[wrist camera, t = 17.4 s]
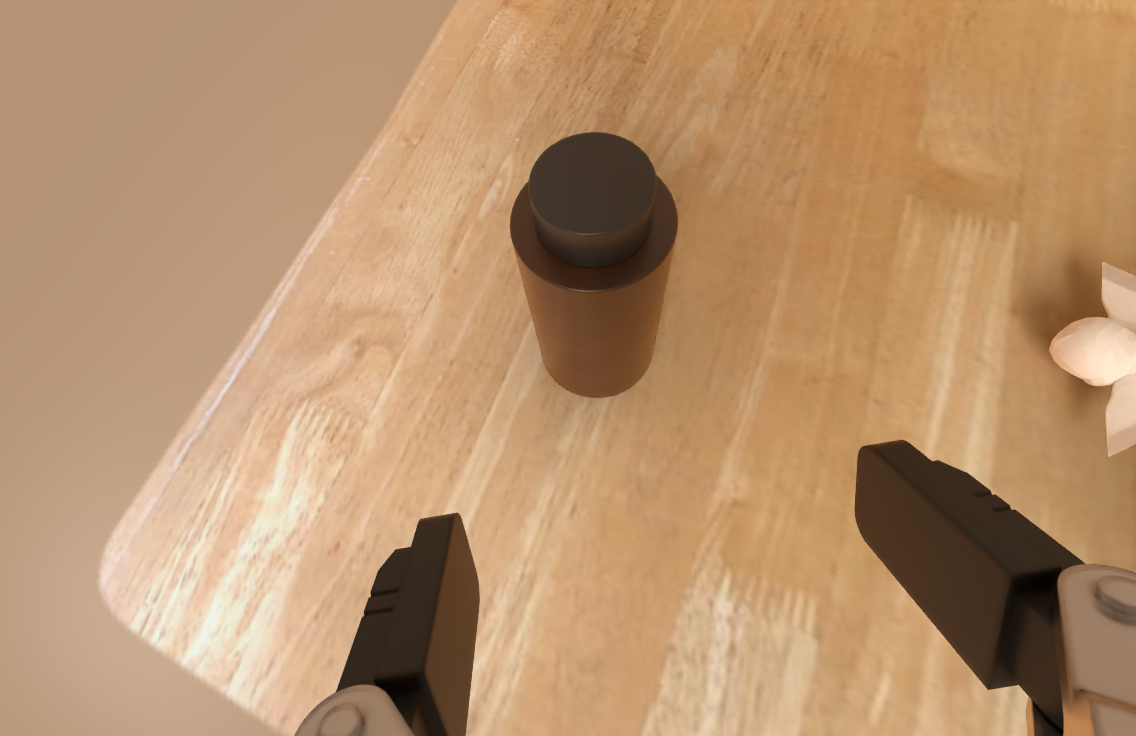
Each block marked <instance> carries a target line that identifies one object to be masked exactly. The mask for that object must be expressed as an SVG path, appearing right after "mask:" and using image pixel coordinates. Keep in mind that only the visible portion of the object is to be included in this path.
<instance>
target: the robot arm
mask: <svg viewBox="0 0 1136 736" xmlns="http://www.w3.org/2000/svg"><path fill="white" fill-rule="evenodd" d="M855 518H856V522H857V526H858V528H859V531H860V533H861V535H862V537H863V539H864V540H865V542H866V543H867V544H868V545H869V547H870V548H871V549H872V550H873V552H874V553H875V554H876V555H877V556H878V558H879V559H880V560H881V561H882V562H883V564H884V565H885V566H886V567H887V568H888V570H889V571H890V572H891V573H892V574H893V576H894V577H895V578H896V579H897V580H898V582H899V583H900V584H901V585H902V587H903V588H904V589H905V590H906V591H907V593H908V594H909V595H910V596H911V597H912V599H913V600H914V601H915V602H916V603H917V605H918V606H919V607H920V608H921V609H922V611H923V612H924V613H925V614H926V615H927V617H928V618H929V619H930V620H931V622H932V623H933V624H934V625H935V626H936V628H937V629H938V630H939V631H940V632H941V634H942V635H943V636H944V637H945V638H946V640H947V641H948V642H949V643H950V644H951V646H952V647H953V648H954V649H955V650H956V652H957V653H958V654H959V655H960V657H961V658H962V659H963V660H964V661H965V663H966V664H967V665H968V666H969V667H970V669H971V670H972V671H973V672H974V673H975V675H976V676H977V677H978V678H979V679H980V681H981V682H982V683H983V684H984V685H985V687H986V688H987V689H988V690H990V689H996V688H1002V687H1008V686H1014V685H1019V686H1020V687H1021V688H1022V689H1023V690H1024V691H1025V693H1026V694H1027V695H1028V696H1029V699H1028V703H1027V707H1026V720H1027V735H1028V736H1136V573H1134V572H1131V571H1128V570H1125V569H1121V568H1117V567H1112V566H1107V565H1098V564H1085V563H1084V562H1083V561H1081V560H1080V559H1079V558H1077V557H1076V556H1075V555H1074V554H1072V553H1071V552H1070V551H1068V550H1067V549H1066V548H1064V547H1063V546H1062V545H1061V544H1059V543H1058V542H1057V541H1055V540H1054V539H1053V538H1051V537H1050V536H1049V535H1048V534H1046V533H1045V532H1044V531H1042V530H1041V529H1040V528H1038V527H1037V526H1036V525H1035V524H1033V523H1032V522H1031V521H1029V520H1028V519H1027V518H1025V517H1024V516H1023V515H1021V514H1020V513H1019V512H1018V511H1016V510H1011V508H1010V505H1008V504H1007V503H1006V502H1005V501H1003V500H1002V499H1001V498H999V497H998V496H997V495H992V494H991V491H990V490H989V489H988V488H986V487H985V486H984V485H982V484H981V483H980V482H979V481H977V480H976V479H975V478H973V477H972V476H971V475H969V474H968V473H966V472H964V471H961V470H959V469H957V468H954V467H952V466H950V465H948V464H945V463H943V462H941V461H939V460H937V461H931V460H930V459H928V458H927V457H926V456H925V455H924V454H922V453H921V452H920V451H919V450H917V449H916V448H915V447H914V446H912V445H911V444H910V443H908V442H907V441H905V440H897V441H891V442H885V443H879V444H873V445H867V446H863V447H861V449H860V450H859V453H858V459H857V477H856V494H855ZM479 601H480V596H479V583H478V577H477V572H476V568H475V565H474V561H473V557H472V554H471V550H470V547H469V543H468V539H467V536H466V532H465V529H464V525H463V522H462V519H461V516H460V515H459V513H453V514H447V515H441V516H435V517H429V518H423V519H420V520H419V522H418V525H417V528H416V532H415V535H414V539H413V542H412V546H411V547H408V548H402V549H396V550H395V551H394V552H393V553H392V554H391V556H390V557H389V558H388V559H387V561H386V562H385V563H384V564H383V565H382V567H381V568H380V569H379V570H378V573H377V576H376V579H375V581H374V584H373V587H372V590H371V597H369V599H368V602H367V604H366V607H365V610H364V617H362V619H361V622H360V625H359V627H358V630H357V633H356V636H355V639H354V642H353V645H352V648H351V650H350V653H349V656H348V659H347V662H346V665H345V668H344V671H343V673H342V676H341V679H340V682H339V685H338V688H337V690H336V693H334V694H332V695H331V696H329V697H328V698H326V699H325V700H323V701H322V702H321V703H320V704H318V705H317V706H316V707H315V708H314V709H313V710H312V711H311V712H310V713H309V714H308V716H307V717H306V718H305V719H304V720H303V722H302V723H301V725H300V726H299V728H298V730H297V732H296V734H295V735H294V736H465V735H466V726H467V717H468V707H469V698H470V688H471V679H472V670H473V660H474V651H475V641H476V632H477V623H478V613H479Z"/></svg>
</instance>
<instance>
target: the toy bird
mask: <svg viewBox="0 0 1136 736" xmlns="http://www.w3.org/2000/svg"><path fill="white" fill-rule="evenodd" d="M1101 300H1102V304H1103V306H1104V308H1105V310H1106V311H1107V314H1108V318H1104V317H1089V318H1084V319H1081V320H1078V321H1075V322H1072V323H1071V324H1070V325H1068V326H1067V327H1065V328H1064V329H1063V330H1061V331H1060V332H1059V333H1058V334H1057V335H1056V336H1055V337H1054V338H1053V340H1052V342H1051V344H1050V347H1049V352H1050V354H1051V356H1052V358H1053V360H1054V361H1055V362H1056V363H1057V364H1058V365H1059V366H1060V367H1061V368H1062V369H1064V370H1065V371H1067V372H1069V373H1071V374H1073V375H1075V376H1077V377H1079V378H1081V379H1082V380H1084V381H1085V382H1086V383H1088V384H1089V385H1093V386H1107V385H1111V384H1112V383H1113V385H1112V391H1111V397H1110V400H1109V402H1108V404H1107V406H1106V408H1105V423H1106V432H1107V444H1108V457H1110V456H1112V455H1114V454H1116V453H1118V452H1120V451H1123V450H1125V449H1127V448H1129V447H1131V446H1133V445H1135V444H1136V276H1134V275H1132V274H1130V273H1127V272H1125V271H1123V270H1120V269H1118V268H1116V267H1113V266H1111V265H1109V264H1106V263H1104V262H1102V293H1101Z"/></svg>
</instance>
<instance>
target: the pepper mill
mask: <svg viewBox="0 0 1136 736" xmlns="http://www.w3.org/2000/svg"><path fill="white" fill-rule="evenodd" d="M677 229H678V215H677V209H676V205H675V202H674V200H673V197H672V195H671V193H670V192H669V190H668V188H667V187H666V185H665V184H664V183H663V182H662V180H661V179H660V178H659V177H658V176H657V175H656V174H655V170H654V167H653V165H652V163H651V161H650V160H649V158H648V156H647V155H646V154H645V153H644V152H643V151H642V150H641V149H640V148H639V147H638V146H637V145H635V144H634V143H632V142H630V141H629V140H627V139H625V138H622V137H620V136H616V135H613V134H608V133H599V132H590V133H581V134H576V135H572V136H569V137H567V138H564V139H562V140H560V141H558V142H556V143H555V144H553V145H551V146H550V147H549V148H548V149H546V150H545V151H544V152H543V153H542V154H541V155H540V157H539V158H538V159H537V161H536V162H535V164H534V166H533V168H532V171H531V173H530V177H529V181H528V182H527V183H526V184H525V186H524V187H523V188H522V190H521V191H520V193H519V195H518V196H517V198H516V200H515V203H514V206H513V208H512V212H511V217H510V233H511V239H512V243H513V246H514V250H515V254H516V258H517V262H518V265H519V269H520V273H521V277H522V281H523V285H524V288H525V292H526V296H527V300H528V304H529V307H530V311H531V315H532V319H533V323H534V327H535V330H536V334H537V338H538V342H539V346H540V349H541V353H542V357H543V361H544V364H545V366H546V368H547V370H548V372H549V373H550V375H551V376H552V377H553V379H554V380H555V381H556V382H557V383H558V384H559V385H561V386H562V387H564V388H565V389H567V390H569V391H570V392H572V393H575V394H578V395H581V396H585V397H593V398H602V397H609V396H613V395H616V394H619V393H621V392H624V391H625V390H627V389H629V388H630V387H632V386H633V385H634V384H636V383H637V382H638V381H639V380H640V379H641V377H642V376H643V375H644V374H645V372H646V370H647V368H648V367H649V364H650V362H651V358H652V354H653V349H654V344H655V339H656V334H657V329H658V324H659V319H660V314H661V309H662V304H663V299H664V294H665V290H666V285H667V280H668V275H669V270H670V265H671V260H672V255H673V250H674V245H675V240H676V235H677Z"/></svg>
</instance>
